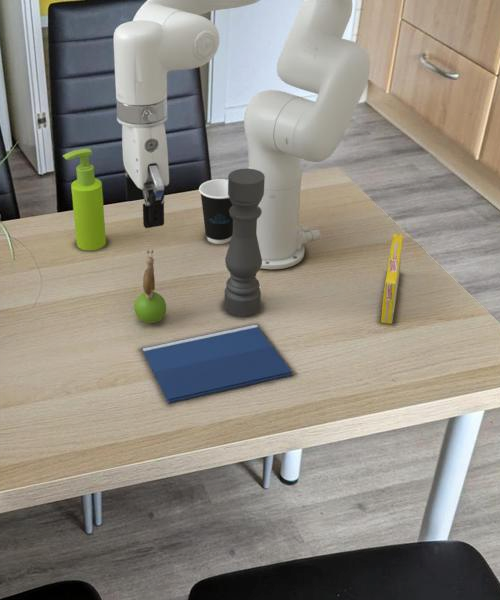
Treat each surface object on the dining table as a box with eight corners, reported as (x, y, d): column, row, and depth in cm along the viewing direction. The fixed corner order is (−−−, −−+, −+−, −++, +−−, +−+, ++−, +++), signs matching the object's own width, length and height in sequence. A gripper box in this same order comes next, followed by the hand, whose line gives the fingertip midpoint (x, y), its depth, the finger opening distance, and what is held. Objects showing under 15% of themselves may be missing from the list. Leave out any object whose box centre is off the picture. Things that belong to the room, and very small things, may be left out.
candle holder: (258, 318, 142) (265, 185, 128) (222, 315, 143) (224, 184, 129) (261, 298, 147) (267, 168, 133) (225, 296, 148) (228, 167, 134)
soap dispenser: (67, 241, 167) (58, 149, 156) (98, 233, 170) (91, 141, 158) (78, 254, 163) (69, 160, 152) (110, 245, 165) (104, 152, 154)
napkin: (255, 325, 140) (255, 322, 140) (291, 375, 129) (292, 372, 128) (142, 350, 136) (141, 346, 136) (168, 403, 125) (168, 399, 124)
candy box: (387, 272, 151) (392, 232, 147) (399, 274, 151) (405, 234, 146) (378, 322, 139) (384, 281, 134) (392, 324, 138) (398, 282, 133)
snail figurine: (167, 308, 146) (166, 249, 139) (165, 329, 140) (164, 269, 134) (136, 308, 146) (133, 249, 140) (133, 329, 141) (130, 269, 134)
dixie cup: (213, 252, 161) (213, 201, 155) (191, 235, 167) (191, 185, 161) (247, 240, 164) (249, 190, 158) (224, 224, 170) (225, 175, 163)
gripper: (184, 126, 117) (184, 233, 126) (149, 87, 131) (151, 186, 140) (133, 133, 115) (137, 241, 125) (103, 93, 129) (108, 193, 139)
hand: (144, 212), depth 132 cm, fingers open, 9 cm apart
